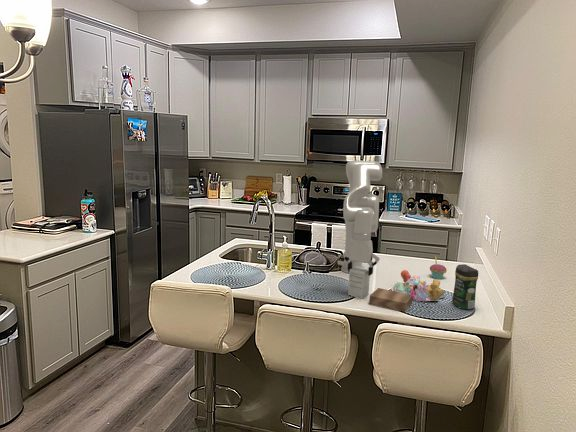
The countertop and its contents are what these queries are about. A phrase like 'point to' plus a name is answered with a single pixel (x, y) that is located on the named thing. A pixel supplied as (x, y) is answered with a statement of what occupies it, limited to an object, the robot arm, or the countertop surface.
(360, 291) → the supplement box
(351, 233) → the robot arm
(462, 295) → the coffee jar
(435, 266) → the cupcake
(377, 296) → the walnut base
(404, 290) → the candy landscape model
